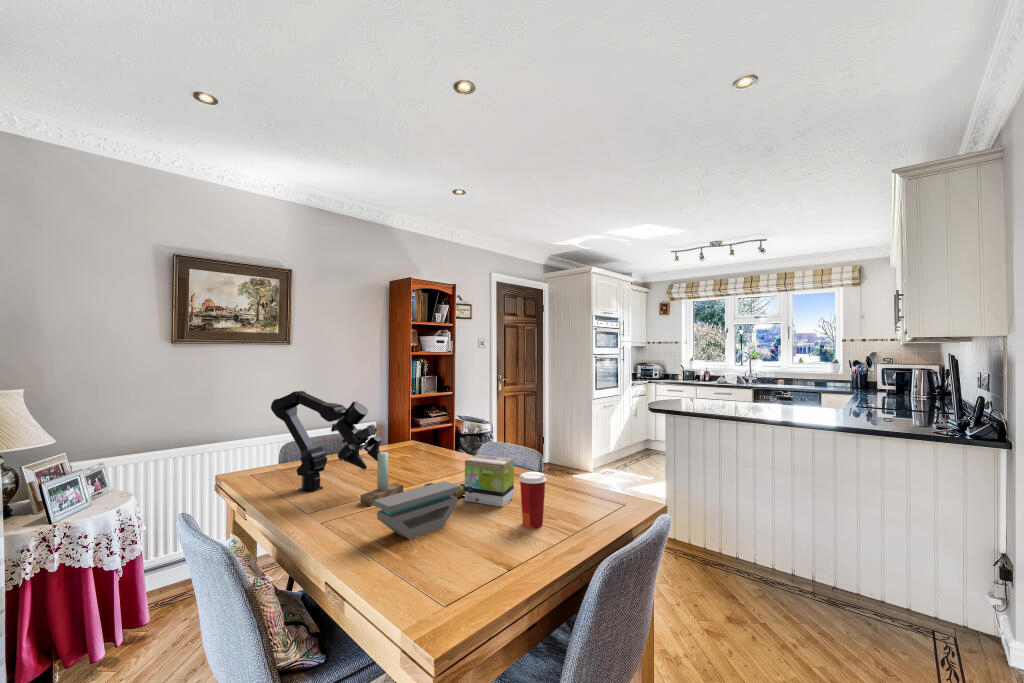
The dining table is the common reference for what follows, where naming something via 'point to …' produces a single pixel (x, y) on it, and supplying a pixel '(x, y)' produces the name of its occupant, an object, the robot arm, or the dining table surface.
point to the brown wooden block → (380, 494)
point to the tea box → (489, 480)
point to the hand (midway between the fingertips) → (373, 465)
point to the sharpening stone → (418, 509)
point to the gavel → (456, 494)
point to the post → (382, 472)
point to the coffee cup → (532, 498)
